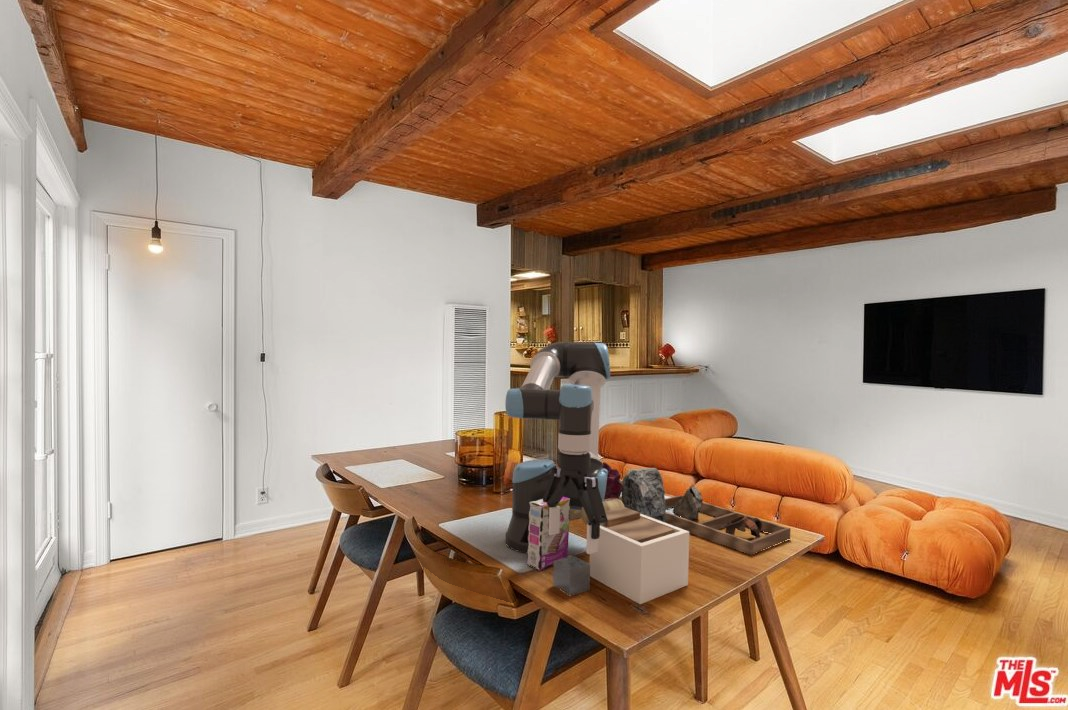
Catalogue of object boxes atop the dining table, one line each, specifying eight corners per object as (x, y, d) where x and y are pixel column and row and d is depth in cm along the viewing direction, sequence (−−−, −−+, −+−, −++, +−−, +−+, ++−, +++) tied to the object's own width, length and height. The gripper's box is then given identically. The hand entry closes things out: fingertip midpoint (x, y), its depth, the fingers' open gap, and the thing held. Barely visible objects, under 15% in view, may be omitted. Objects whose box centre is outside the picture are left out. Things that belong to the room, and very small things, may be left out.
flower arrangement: (538, 495, 190) (539, 455, 190) (570, 485, 205) (571, 448, 205) (608, 514, 169) (609, 470, 169) (638, 502, 184) (639, 461, 184)
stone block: (638, 546, 143) (640, 476, 143) (614, 536, 150) (615, 470, 150) (674, 531, 155) (676, 467, 155) (650, 523, 162) (652, 462, 162)
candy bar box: (540, 572, 125) (542, 506, 125) (526, 565, 129) (527, 501, 128) (569, 559, 133) (570, 497, 133) (555, 553, 137) (556, 493, 136)
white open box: (589, 575, 124) (590, 524, 123) (635, 560, 133) (637, 512, 133) (640, 604, 110) (641, 546, 110) (688, 584, 120) (689, 531, 120)
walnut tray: (640, 514, 170) (641, 504, 170) (680, 504, 183) (680, 495, 183) (751, 555, 138) (751, 543, 138) (790, 540, 150) (790, 528, 150)
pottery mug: (752, 551, 142) (737, 523, 144) (728, 555, 150) (714, 528, 152) (776, 533, 148) (762, 507, 150) (753, 537, 156) (739, 512, 158)
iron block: (553, 586, 118) (553, 561, 118) (572, 579, 121) (573, 555, 121) (569, 597, 113) (570, 570, 113) (589, 589, 117) (590, 564, 116)
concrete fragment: (680, 507, 179) (681, 476, 179) (711, 526, 161) (713, 492, 161) (664, 508, 178) (665, 477, 178) (694, 527, 159) (695, 493, 159)
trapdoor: (577, 523, 130) (578, 503, 130) (613, 514, 138) (614, 496, 137) (636, 549, 114) (637, 527, 113) (673, 537, 121) (674, 517, 121)
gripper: (625, 459, 109) (622, 557, 109) (553, 441, 129) (551, 524, 129) (599, 463, 104) (597, 565, 104) (530, 444, 125) (528, 529, 125)
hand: (572, 542), depth 117 cm, fingers open, 13 cm apart
